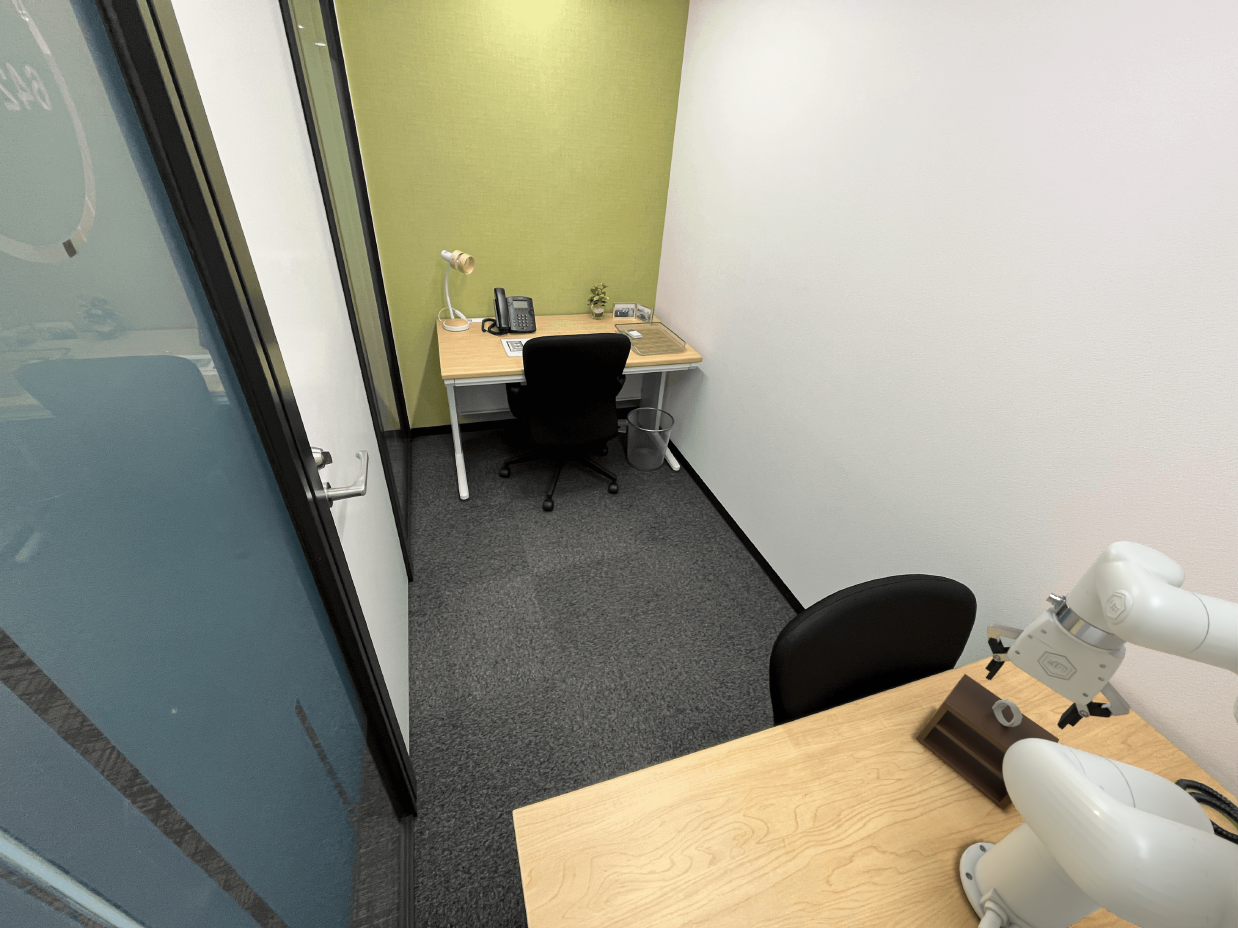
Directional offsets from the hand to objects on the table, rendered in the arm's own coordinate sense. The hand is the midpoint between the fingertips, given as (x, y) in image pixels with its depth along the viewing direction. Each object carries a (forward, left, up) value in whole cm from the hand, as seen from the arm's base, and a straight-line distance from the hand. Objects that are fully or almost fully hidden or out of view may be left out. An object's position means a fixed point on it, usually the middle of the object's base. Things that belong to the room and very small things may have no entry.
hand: (1024, 697), depth 76 cm
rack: (0, 0, -19) cm, 19 cm away
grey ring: (0, 0, -7) cm, 7 cm away
